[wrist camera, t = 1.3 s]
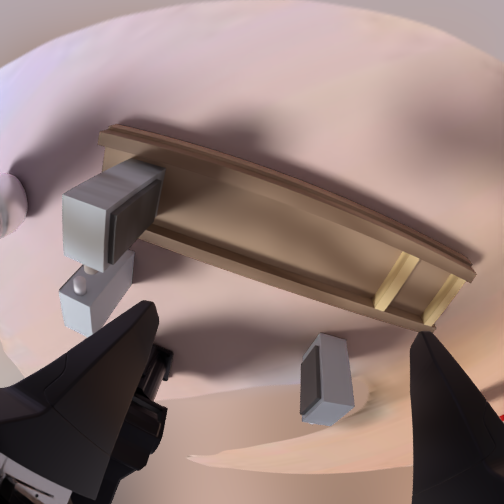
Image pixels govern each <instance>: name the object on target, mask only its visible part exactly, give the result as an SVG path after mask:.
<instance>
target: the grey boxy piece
mask: <svg viewBox="0 0 504 504" xmlns="http://www.w3.org/2000/svg"><path fill="white" fill-rule="evenodd" d="M354 406H355V405H354V396H353V387H352V379H351V371H350V364H349V357H348V350H347V343H346V340H345V339H341V338H338V337H334V336H331V335H327V334H324V333H319V335H318V336H317V338H316V339H315V340H314V342H313V343H312V345H311V346H310V347H309V349H308V350H307V352H306V353H305V354H304V356H303V362H302V364H301V394H300V414H301V415H302V422H307V423H309V424H320V425H326V426H332V425H333V424H334V423H335V422H337V421H338V420H339V419H340V418H341V417H343V416H344V415H345V414H346V413H348V412H349V411H350V410H351V409H352V408H353V407H354Z"/></svg>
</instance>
